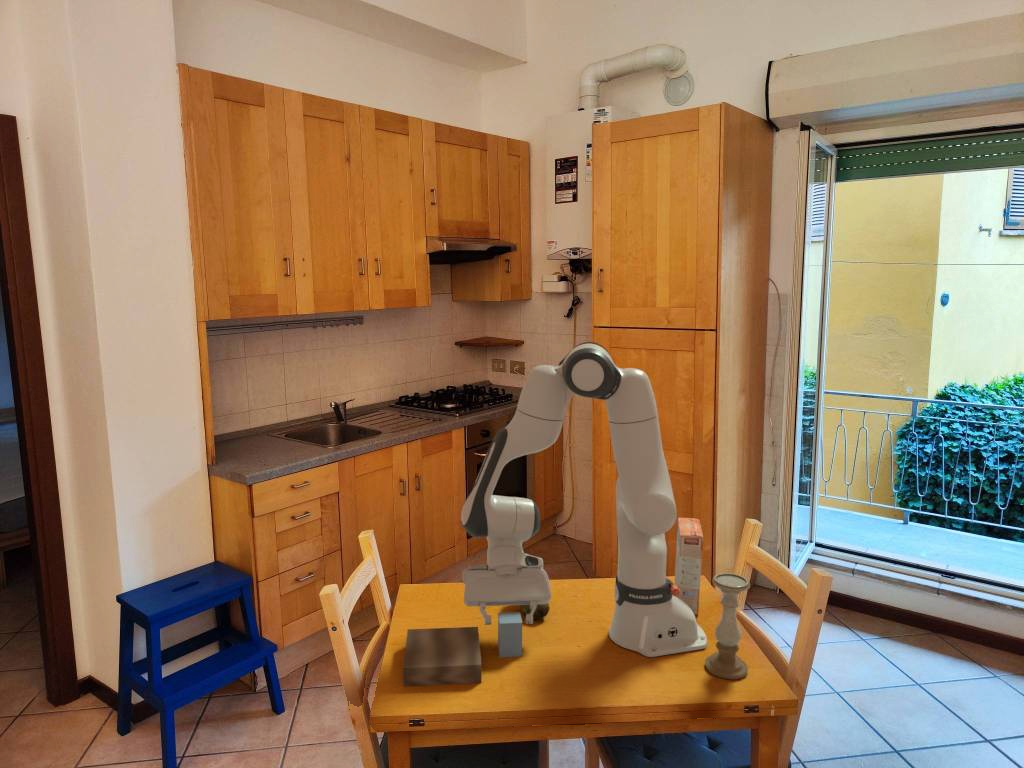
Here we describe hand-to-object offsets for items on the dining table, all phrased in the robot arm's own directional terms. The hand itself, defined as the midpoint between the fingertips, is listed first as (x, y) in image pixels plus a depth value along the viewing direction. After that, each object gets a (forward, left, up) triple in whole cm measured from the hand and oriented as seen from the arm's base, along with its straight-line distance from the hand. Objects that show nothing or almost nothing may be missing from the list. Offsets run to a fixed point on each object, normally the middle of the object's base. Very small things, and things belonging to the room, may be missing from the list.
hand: (508, 623), depth 157 cm
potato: (-7, -18, -6) cm, 20 cm away
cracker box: (-48, -19, -6) cm, 52 cm away
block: (0, +1, -6) cm, 6 cm away
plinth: (+15, +5, -6) cm, 17 cm away
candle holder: (-46, +12, -6) cm, 48 cm away
